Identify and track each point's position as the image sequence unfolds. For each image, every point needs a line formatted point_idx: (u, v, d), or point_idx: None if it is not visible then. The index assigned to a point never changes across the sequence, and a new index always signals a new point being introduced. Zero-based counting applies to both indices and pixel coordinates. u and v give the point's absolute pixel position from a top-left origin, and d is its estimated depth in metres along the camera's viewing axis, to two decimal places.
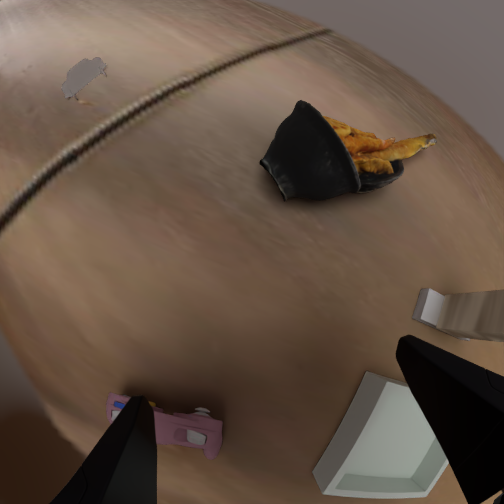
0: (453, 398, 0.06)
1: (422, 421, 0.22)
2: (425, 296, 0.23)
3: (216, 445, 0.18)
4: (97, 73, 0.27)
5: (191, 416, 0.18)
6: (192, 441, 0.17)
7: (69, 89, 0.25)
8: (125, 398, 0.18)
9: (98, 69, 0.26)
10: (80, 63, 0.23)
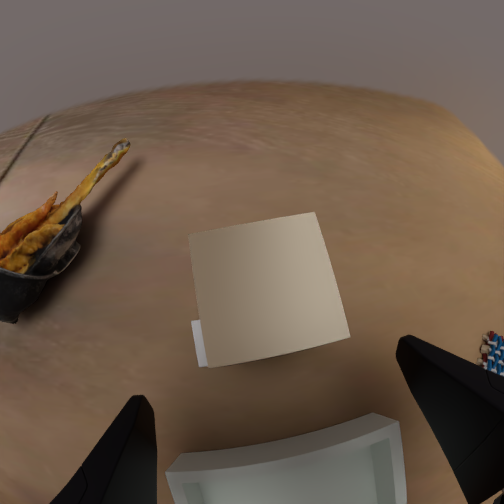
0: (453, 398, 0.06)
1: (325, 474, 0.15)
2: None
3: None
4: None
5: None
6: None
7: None
8: None
9: None
10: None
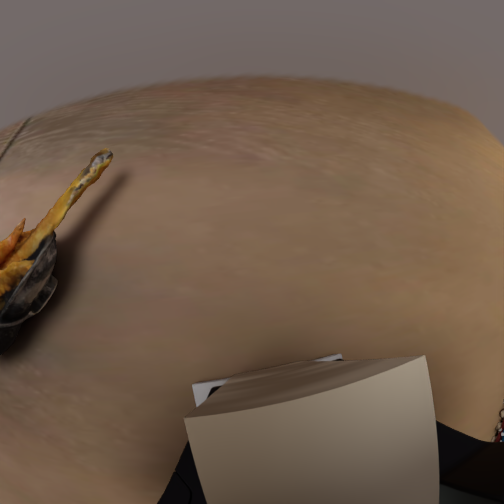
0: None
1: None
2: None
3: None
4: None
5: None
6: None
7: None
8: None
9: None
10: None
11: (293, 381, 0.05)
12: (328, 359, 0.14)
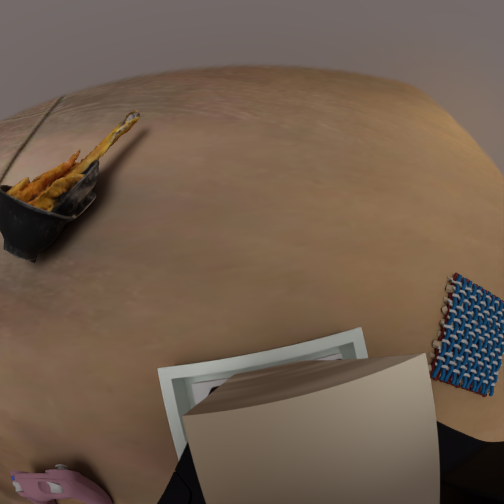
0: None
1: None
2: None
3: (79, 493, 0.13)
4: None
5: (46, 471, 0.13)
6: (52, 491, 0.12)
7: None
8: (14, 471, 0.12)
9: None
10: None
11: (293, 380, 0.05)
12: (328, 358, 0.14)
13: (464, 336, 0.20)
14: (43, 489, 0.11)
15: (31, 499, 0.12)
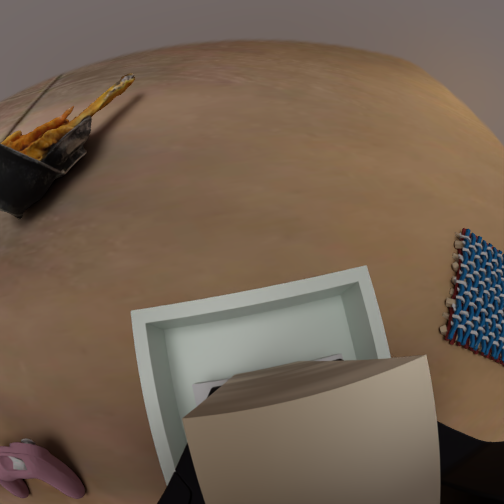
0: None
1: (300, 345, 0.18)
2: None
3: (44, 473, 0.11)
4: None
5: (10, 445, 0.11)
6: (14, 467, 0.09)
7: None
8: None
9: None
10: None
11: (293, 381, 0.05)
12: (328, 359, 0.14)
13: (479, 294, 0.18)
14: (5, 465, 0.09)
15: None
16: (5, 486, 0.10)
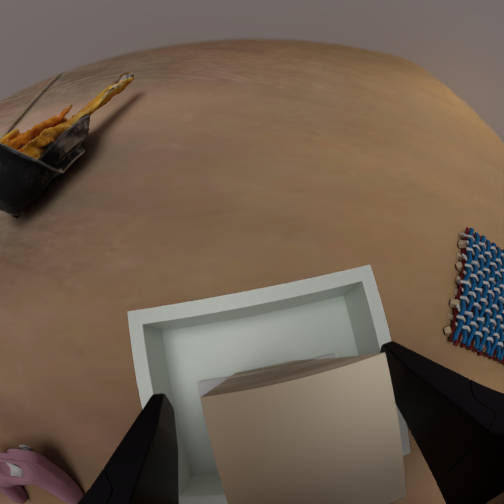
0: (434, 409, 0.06)
1: (302, 347, 0.17)
2: None
3: (42, 480, 0.10)
4: None
5: (7, 451, 0.10)
6: (11, 474, 0.09)
7: None
8: None
9: None
10: None
11: (285, 373, 0.07)
12: (322, 358, 0.15)
13: (483, 295, 0.17)
14: (3, 471, 0.08)
15: None
16: (3, 491, 0.09)
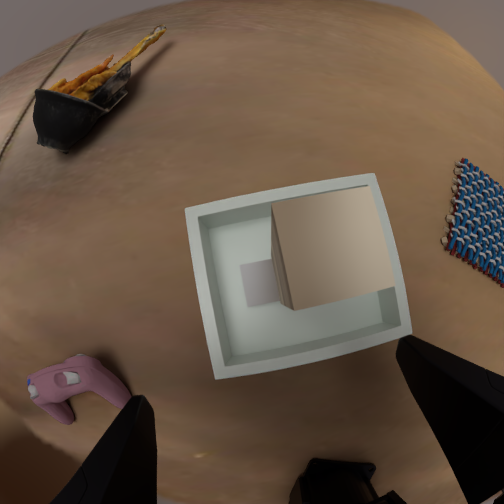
0: (453, 398, 0.06)
1: None
2: (242, 276, 0.21)
3: (98, 383, 0.18)
4: None
5: (64, 361, 0.18)
6: (68, 382, 0.17)
7: None
8: (31, 374, 0.18)
9: None
10: None
11: None
12: None
13: (476, 215, 0.21)
14: (59, 383, 0.17)
15: (46, 408, 0.18)
16: (52, 413, 0.18)
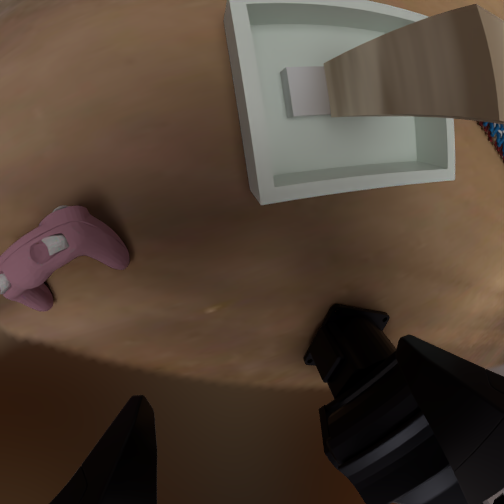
0: (453, 398, 0.06)
1: None
2: (286, 80, 0.14)
3: (91, 241, 0.14)
4: None
5: (40, 223, 0.13)
6: (51, 252, 0.12)
7: None
8: None
9: None
10: None
11: None
12: None
13: None
14: (38, 258, 0.12)
15: (21, 299, 0.15)
16: (29, 303, 0.16)
